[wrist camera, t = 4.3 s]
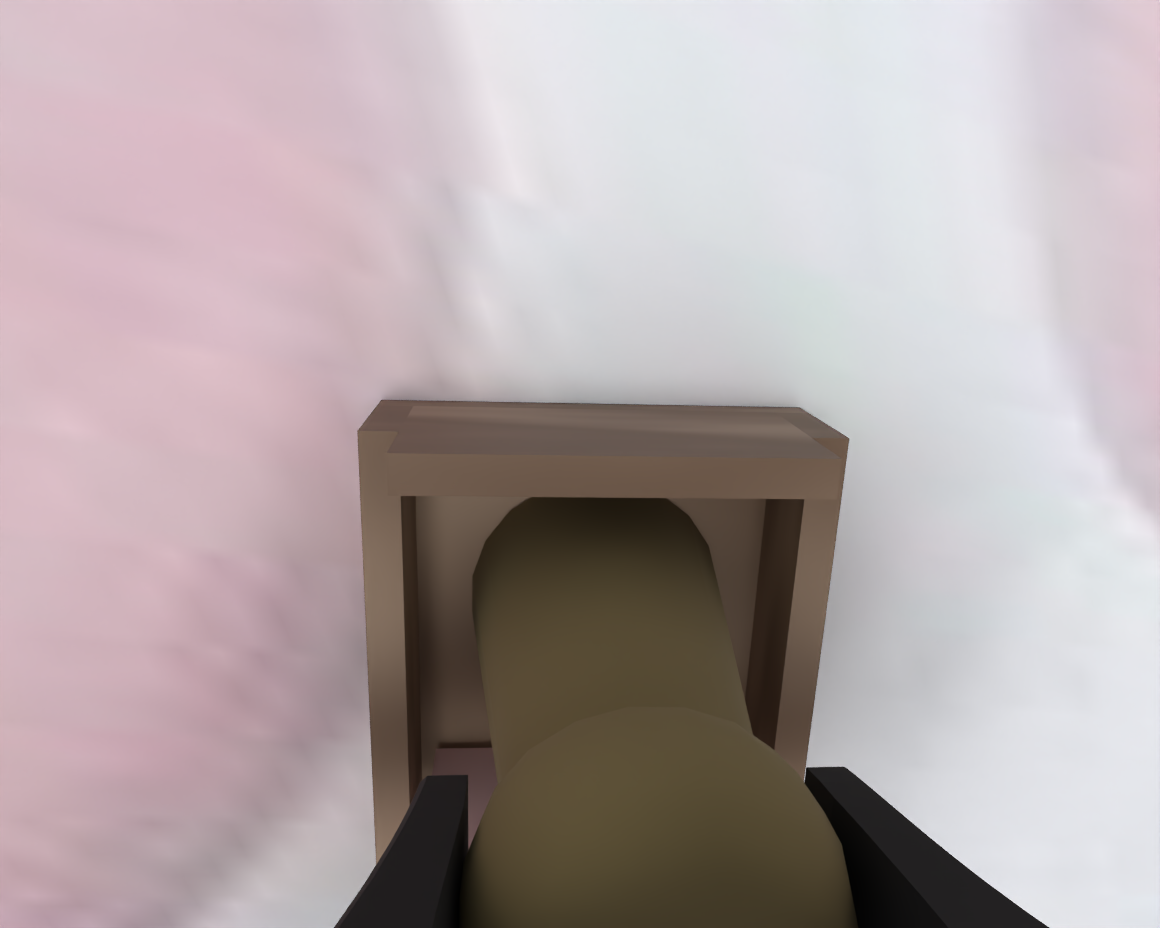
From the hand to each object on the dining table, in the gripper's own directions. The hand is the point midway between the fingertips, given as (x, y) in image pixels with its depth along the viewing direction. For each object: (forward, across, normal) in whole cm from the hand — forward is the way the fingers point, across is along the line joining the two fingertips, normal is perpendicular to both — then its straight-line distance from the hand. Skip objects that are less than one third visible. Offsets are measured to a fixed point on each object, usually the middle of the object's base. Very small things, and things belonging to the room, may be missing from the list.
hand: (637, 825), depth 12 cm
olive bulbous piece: (+8, 0, 0) cm, 8 cm away
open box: (+8, 0, +3) cm, 9 cm away
